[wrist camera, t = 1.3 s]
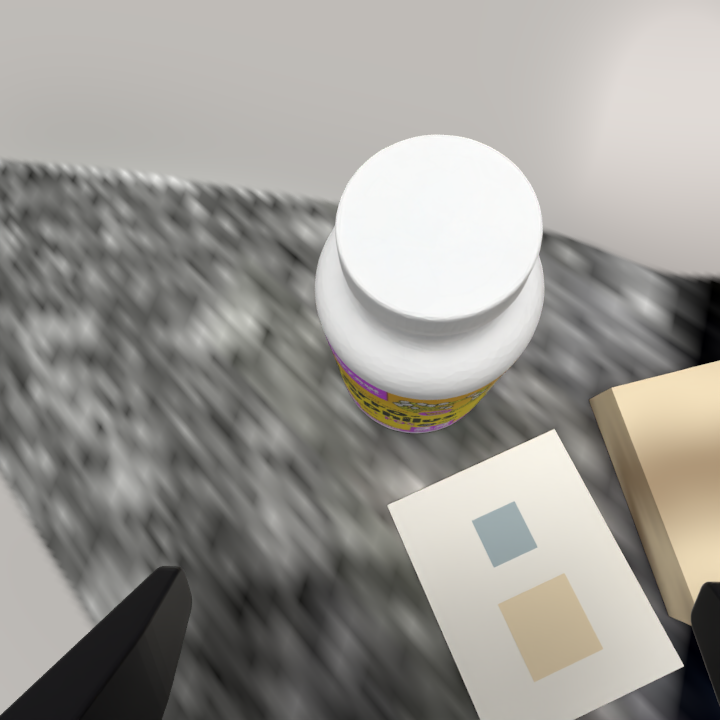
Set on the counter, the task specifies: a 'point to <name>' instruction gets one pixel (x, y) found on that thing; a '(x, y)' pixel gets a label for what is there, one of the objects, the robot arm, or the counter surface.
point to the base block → (670, 474)
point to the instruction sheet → (532, 587)
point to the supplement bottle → (430, 279)
